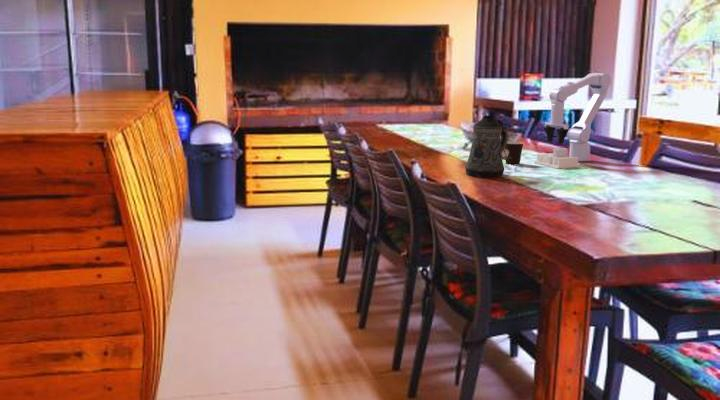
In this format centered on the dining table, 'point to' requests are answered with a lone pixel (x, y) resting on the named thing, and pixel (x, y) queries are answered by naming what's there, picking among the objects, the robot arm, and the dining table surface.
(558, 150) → the plate tile
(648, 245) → the dining table surface
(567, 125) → the robot arm
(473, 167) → the beer stein
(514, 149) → the coffee mug
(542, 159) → the dish rack
